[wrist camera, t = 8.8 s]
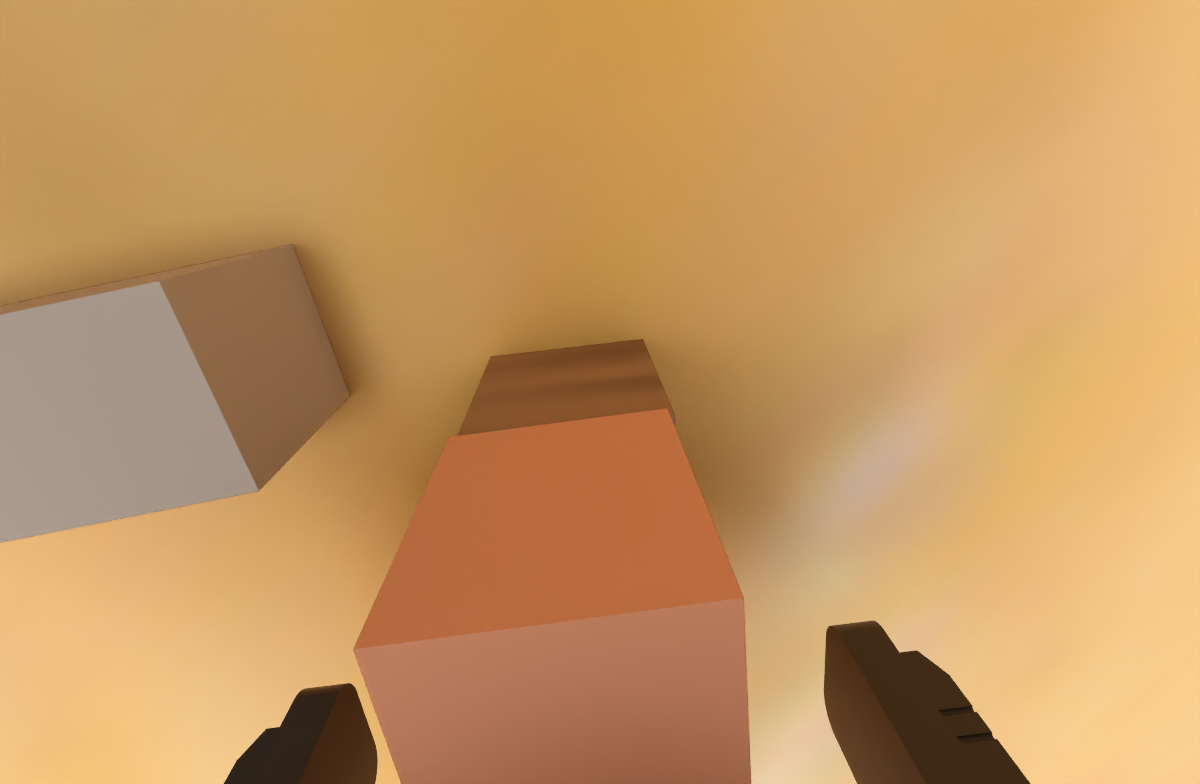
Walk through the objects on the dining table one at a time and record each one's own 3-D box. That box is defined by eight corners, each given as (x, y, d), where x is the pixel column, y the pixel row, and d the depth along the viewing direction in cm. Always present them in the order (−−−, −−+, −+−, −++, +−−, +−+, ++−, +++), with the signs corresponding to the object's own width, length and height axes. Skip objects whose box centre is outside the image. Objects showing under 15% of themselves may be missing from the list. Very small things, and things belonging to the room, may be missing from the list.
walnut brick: (490, 356, 15) (455, 439, 11) (642, 339, 15) (674, 413, 11) (535, 600, 18) (523, 749, 14) (662, 585, 18) (694, 728, 14)
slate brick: (65, 452, 16) (-147, 572, 11) (-21, 310, 14) (-305, 378, 10) (351, 393, 16) (258, 491, 11) (294, 243, 14) (159, 280, 9)
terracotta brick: (448, 437, 11) (352, 650, 6) (666, 408, 11) (743, 597, 6) (523, 747, 13) (498, 1054, 9) (694, 725, 13) (760, 1018, 9)
